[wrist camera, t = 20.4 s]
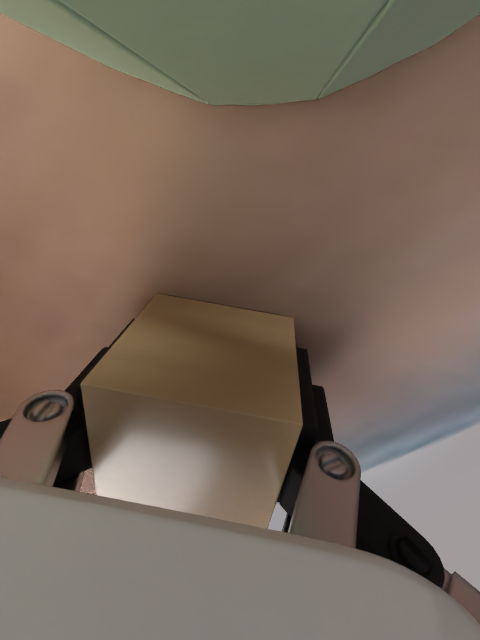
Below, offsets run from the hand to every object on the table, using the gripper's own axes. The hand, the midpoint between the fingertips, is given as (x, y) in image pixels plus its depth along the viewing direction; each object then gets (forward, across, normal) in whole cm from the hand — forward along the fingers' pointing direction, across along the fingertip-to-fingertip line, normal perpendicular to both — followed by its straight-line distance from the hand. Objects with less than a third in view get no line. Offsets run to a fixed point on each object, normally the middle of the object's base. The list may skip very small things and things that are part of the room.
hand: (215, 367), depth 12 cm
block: (0, 0, 0) cm, 0 cm away
